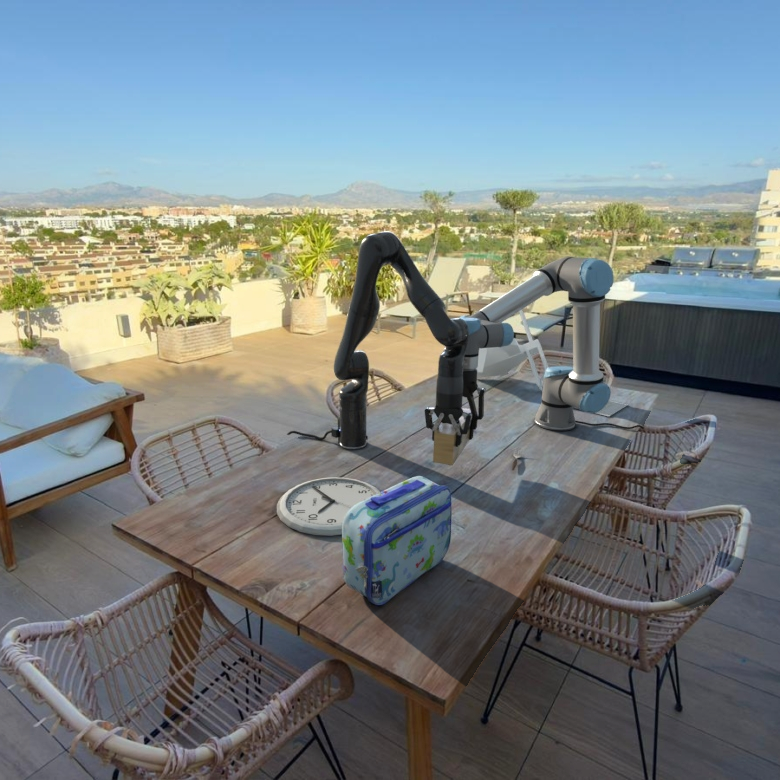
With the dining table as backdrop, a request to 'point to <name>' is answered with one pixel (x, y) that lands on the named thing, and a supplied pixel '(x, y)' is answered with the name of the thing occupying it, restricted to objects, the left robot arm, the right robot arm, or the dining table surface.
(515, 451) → the fork
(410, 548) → the lunch box
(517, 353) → the white plastic object
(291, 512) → the wall clock
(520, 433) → the dining table surface
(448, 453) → the bar
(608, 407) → the invitation card
